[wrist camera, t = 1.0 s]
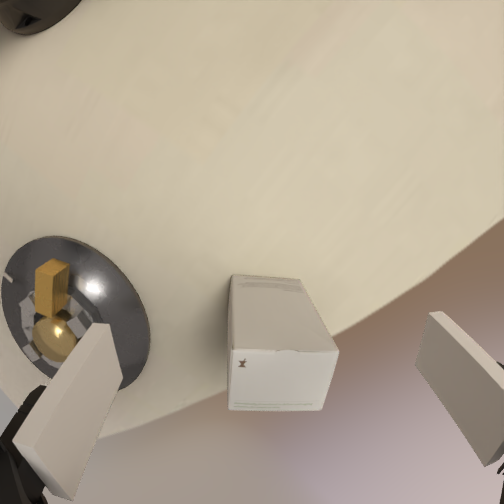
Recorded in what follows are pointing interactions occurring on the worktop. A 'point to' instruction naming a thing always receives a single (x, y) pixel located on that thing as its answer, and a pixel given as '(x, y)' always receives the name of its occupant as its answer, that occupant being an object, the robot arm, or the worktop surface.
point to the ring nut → (55, 305)
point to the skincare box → (276, 347)
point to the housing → (93, 288)
